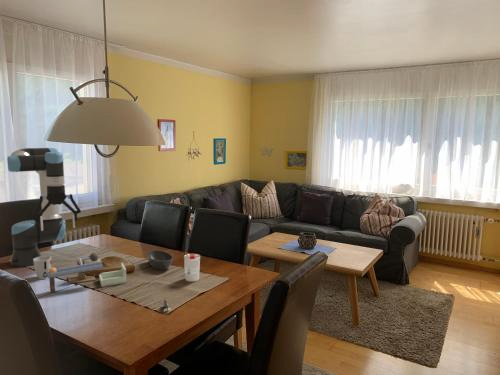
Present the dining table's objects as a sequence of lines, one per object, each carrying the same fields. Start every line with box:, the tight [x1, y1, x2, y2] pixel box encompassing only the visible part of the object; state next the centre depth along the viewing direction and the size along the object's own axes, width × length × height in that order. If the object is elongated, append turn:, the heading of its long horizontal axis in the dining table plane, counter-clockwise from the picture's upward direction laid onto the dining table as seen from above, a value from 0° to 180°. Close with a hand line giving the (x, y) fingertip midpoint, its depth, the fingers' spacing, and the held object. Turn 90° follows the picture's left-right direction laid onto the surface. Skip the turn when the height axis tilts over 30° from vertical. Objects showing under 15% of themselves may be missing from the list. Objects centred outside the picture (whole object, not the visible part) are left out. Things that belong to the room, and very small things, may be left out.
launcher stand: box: [48, 259, 96, 294], centre depth 181 cm, size 18×20×10 cm
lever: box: [47, 252, 104, 279], centre depth 181 cm, size 18×24×4 cm
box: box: [98, 262, 127, 288], centre depth 183 cm, size 10×12×7 cm
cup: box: [33, 255, 52, 280], centre depth 187 cm, size 8×8×10 cm
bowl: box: [145, 249, 174, 271], centre depth 206 cm, size 12×22×6 cm, turn 39°
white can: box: [183, 253, 201, 283], centre depth 187 cm, size 10×8×12 cm
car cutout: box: [160, 298, 172, 313], centre depth 152 cm, size 15×7×4 cm, turn 28°
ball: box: [49, 267, 57, 274], centre depth 170 cm, size 3×3×3 cm
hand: (58, 228), depth 177 cm, fingers open, 13 cm apart
